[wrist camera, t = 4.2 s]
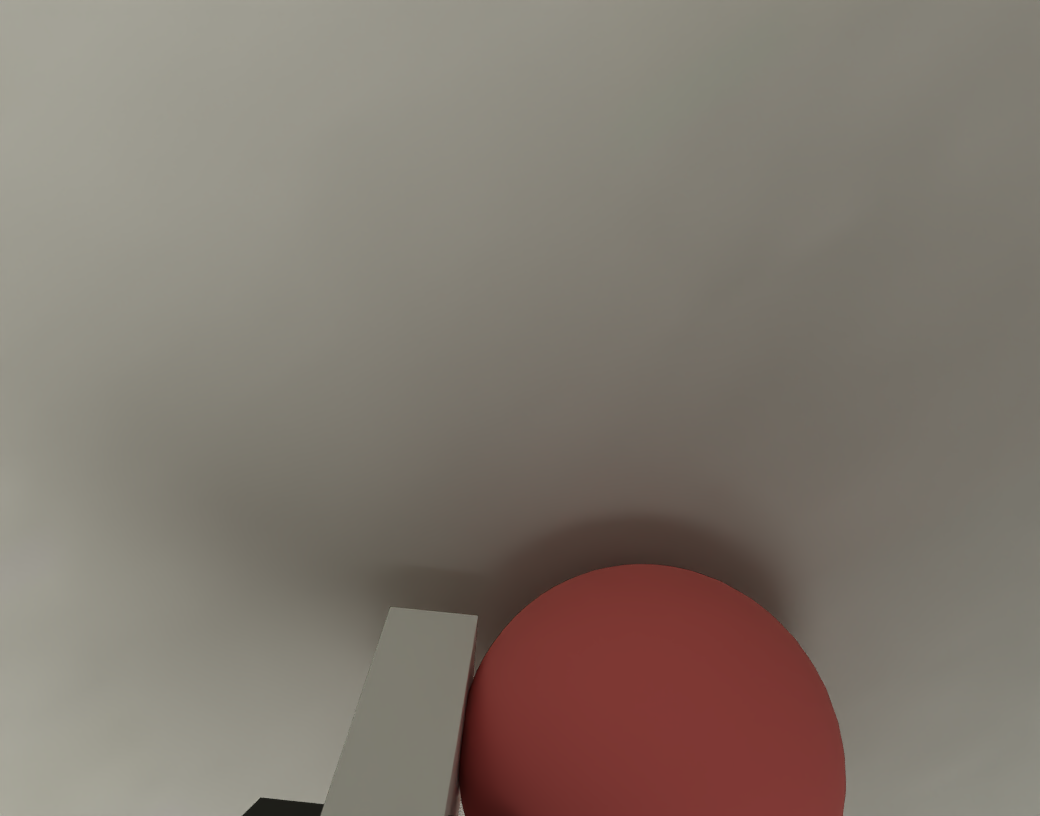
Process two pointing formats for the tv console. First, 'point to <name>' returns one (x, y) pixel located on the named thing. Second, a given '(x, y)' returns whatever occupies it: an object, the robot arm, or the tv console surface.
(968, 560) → the tv console surface
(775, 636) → the ball
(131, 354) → the tv console surface
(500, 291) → the tv console surface
